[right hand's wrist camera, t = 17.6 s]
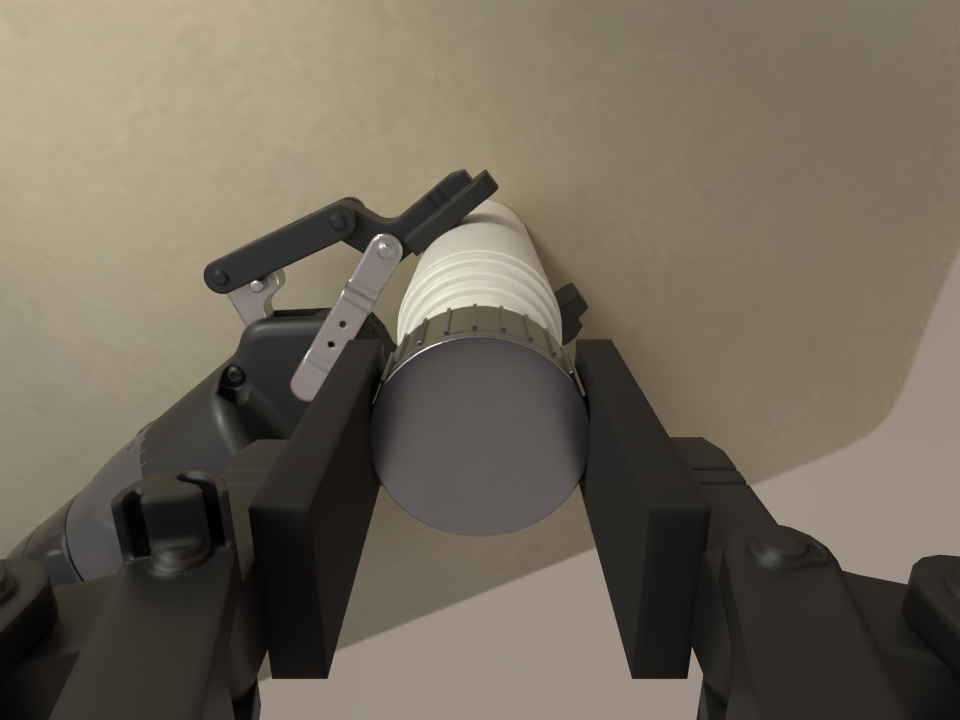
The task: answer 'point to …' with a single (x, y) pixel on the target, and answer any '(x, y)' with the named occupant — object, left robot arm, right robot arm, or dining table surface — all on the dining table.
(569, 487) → the cap
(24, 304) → the dining table surface
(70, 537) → the left robot arm
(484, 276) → the bottle
